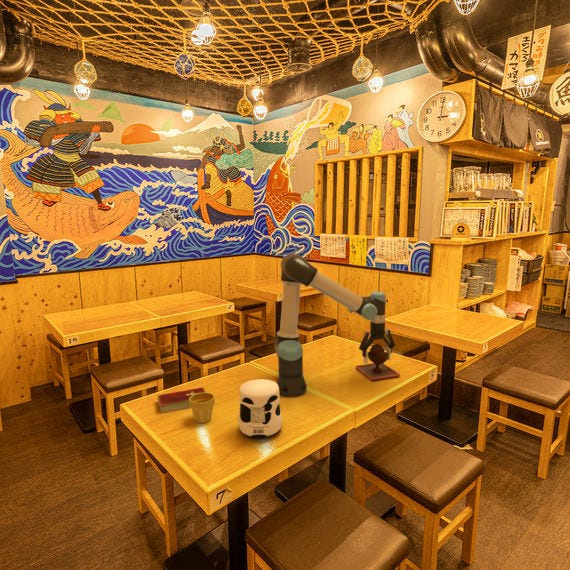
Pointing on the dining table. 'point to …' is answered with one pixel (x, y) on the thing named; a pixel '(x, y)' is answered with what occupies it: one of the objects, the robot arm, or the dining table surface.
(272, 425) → the milk container
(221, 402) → the dining table surface
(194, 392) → the hardcover book
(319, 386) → the dining table surface
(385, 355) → the ice cream bowl
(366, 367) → the serving tray
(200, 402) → the plant pot
